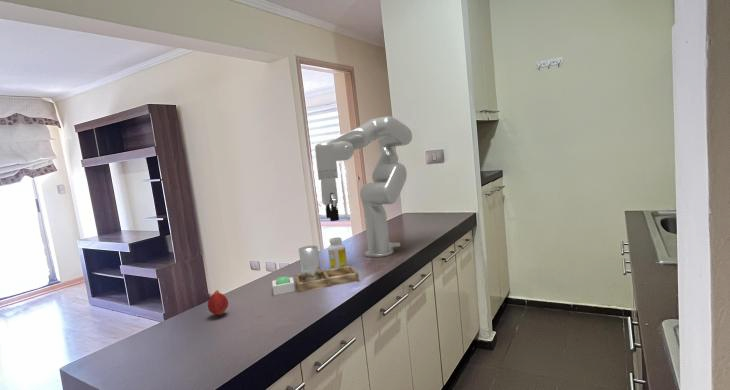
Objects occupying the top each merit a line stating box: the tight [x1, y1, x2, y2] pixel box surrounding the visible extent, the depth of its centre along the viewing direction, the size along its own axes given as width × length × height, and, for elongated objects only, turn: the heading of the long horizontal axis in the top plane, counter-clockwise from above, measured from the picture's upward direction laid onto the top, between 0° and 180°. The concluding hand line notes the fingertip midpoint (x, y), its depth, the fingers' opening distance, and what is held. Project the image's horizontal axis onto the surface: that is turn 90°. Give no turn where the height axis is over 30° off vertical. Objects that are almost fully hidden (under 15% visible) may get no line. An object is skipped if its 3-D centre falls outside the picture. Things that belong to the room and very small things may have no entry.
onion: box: [207, 289, 229, 317], centre depth 119 cm, size 6×6×8 cm
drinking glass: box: [298, 245, 322, 283], centre depth 136 cm, size 7×7×13 cm
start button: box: [276, 275, 290, 285], centre depth 133 cm, size 4×4×5 cm
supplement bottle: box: [327, 236, 348, 269], centre depth 152 cm, size 7×7×13 cm
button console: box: [271, 276, 296, 296], centre depth 133 cm, size 7×7×4 cm
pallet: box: [294, 265, 360, 293], centre depth 138 cm, size 21×12×4 cm, turn 104°
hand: (332, 219), depth 151 cm, fingers open, 9 cm apart
